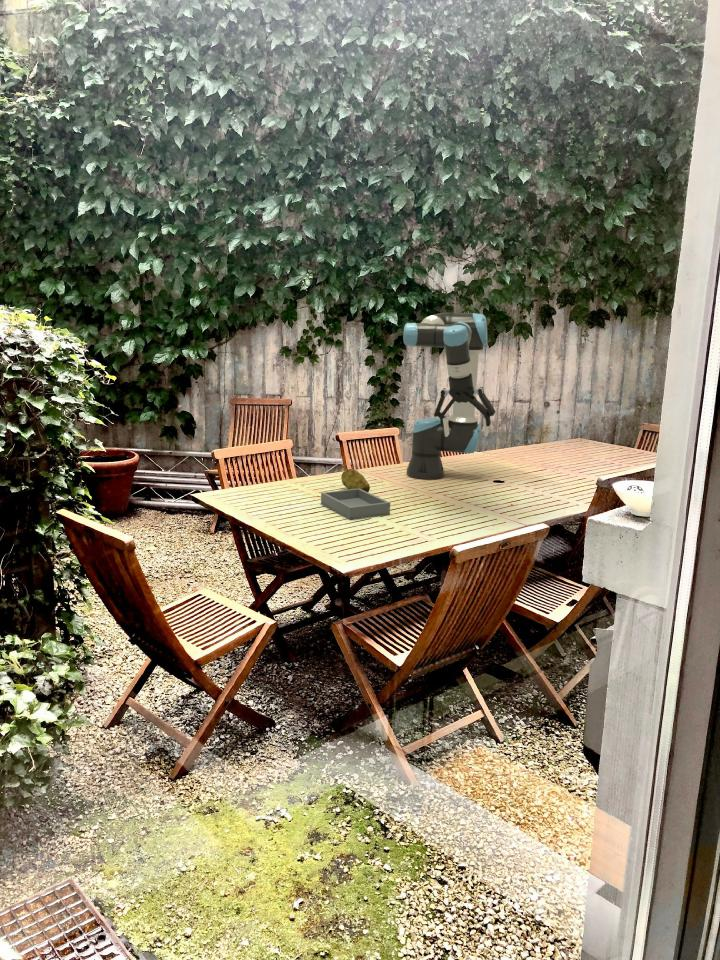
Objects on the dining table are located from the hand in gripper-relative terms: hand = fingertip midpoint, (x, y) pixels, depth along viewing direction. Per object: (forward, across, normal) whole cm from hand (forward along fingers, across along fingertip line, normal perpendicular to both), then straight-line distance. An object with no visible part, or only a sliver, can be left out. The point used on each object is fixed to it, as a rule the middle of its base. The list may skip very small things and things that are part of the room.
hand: (466, 435), depth 236 cm
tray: (+16, -33, -26) cm, 45 cm away
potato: (+20, -42, -6) cm, 47 cm away
